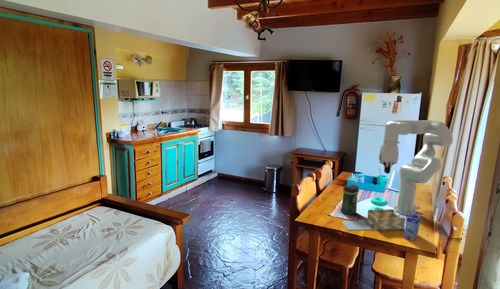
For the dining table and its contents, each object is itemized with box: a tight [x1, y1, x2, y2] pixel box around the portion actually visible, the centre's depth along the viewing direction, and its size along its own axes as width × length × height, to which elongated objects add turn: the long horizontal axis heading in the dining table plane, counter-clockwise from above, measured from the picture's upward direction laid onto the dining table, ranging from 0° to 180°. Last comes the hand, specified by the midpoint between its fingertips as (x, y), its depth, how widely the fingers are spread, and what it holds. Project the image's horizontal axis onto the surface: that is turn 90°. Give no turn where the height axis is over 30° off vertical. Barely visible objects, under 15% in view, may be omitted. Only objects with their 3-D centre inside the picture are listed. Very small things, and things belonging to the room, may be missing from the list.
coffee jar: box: [340, 183, 360, 216], centre depth 191 cm, size 10×8×19 cm
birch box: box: [366, 208, 406, 232], centre depth 175 cm, size 16×12×8 cm
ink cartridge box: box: [403, 212, 422, 242], centre depth 163 cm, size 10×6×14 cm, turn 140°
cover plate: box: [341, 217, 376, 231], centre depth 175 cm, size 16×10×4 cm, turn 93°
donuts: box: [369, 196, 389, 210], centre depth 191 cm, size 10×10×10 cm
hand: (386, 172), depth 181 cm, fingers closed
